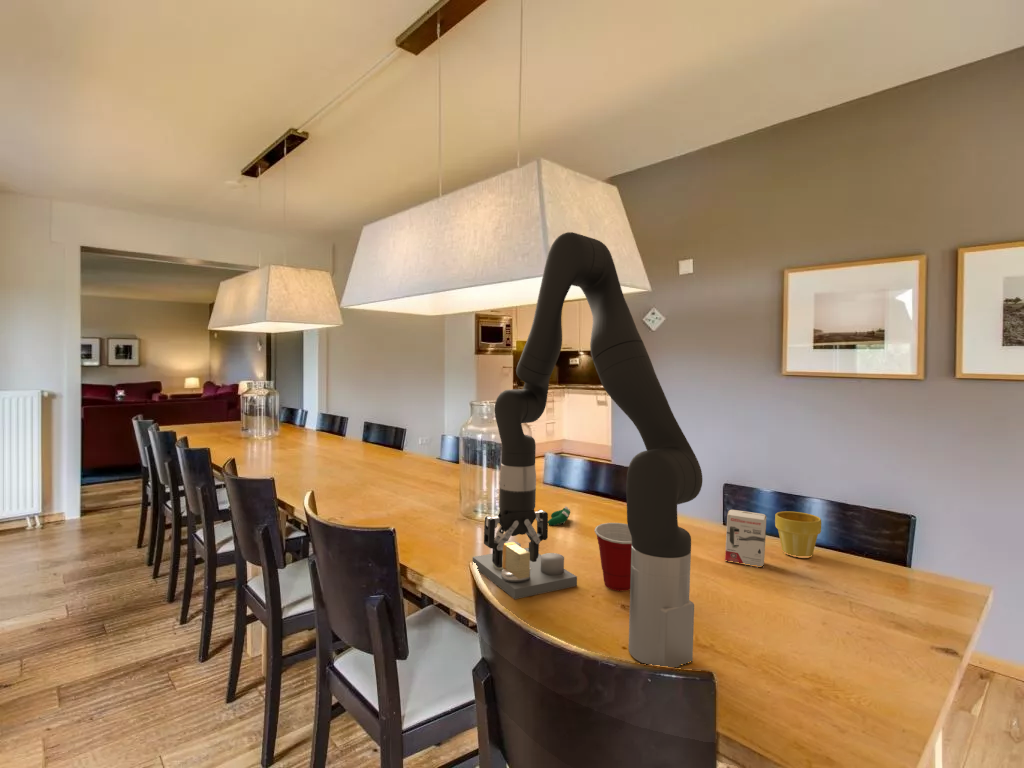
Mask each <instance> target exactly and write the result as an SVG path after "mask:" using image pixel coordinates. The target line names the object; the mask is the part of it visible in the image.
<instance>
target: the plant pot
mask: <svg viewBox="0 0 1024 768" xmlns="http://www.w3.org/2000/svg"><path fill="white" fill-rule="evenodd" d="M774 517H775V518H774V525H775V528H776V529H777V532H778V536H779V541H780V545H781V546H780V547H781V551H782V550H783V551H784V552H786V553H788V554H791V555H796V556H811V555H812V556H813V555H814V551H815V547H816V544H817V540H818V535H820V534H821V532H822V519H821V517H819V516H817V515H814V514H810V513H806V512H800V511H792V510H791V511H787V510H785V511H778V512H776V513H775V515H774Z"/></svg>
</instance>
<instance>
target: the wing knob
mask: <svg viewBox="0 0 1024 768" xmlns="http://www.w3.org/2000/svg"><path fill="white" fill-rule="evenodd" d="M514 542H515V541H514ZM514 542H511V543H505V544H504V546H503V568H504V569H503V570H502V571H501V577H502V579H503V580H505V581H508V582H515V583H518V582H525V581H527V580H529V579H530V571H529V570H530V552H528V551H526V550H525V549H524V547H522V546H521V547H520V546H518V545H517V544H516V543H514Z"/></svg>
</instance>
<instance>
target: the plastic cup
mask: <svg viewBox="0 0 1024 768" xmlns="http://www.w3.org/2000/svg"><path fill="white" fill-rule="evenodd" d="M594 533H595V535H596V539H597V544H598V551H599V558H600V564H601V570H602V577H603V582H604V586H605V587H606V588H608V589H610V590H613V591H616V592H617V591H618V592H626V591H630V581H631V550H632V537H631V534H630V531H629V528H628V523H622V522H605V523H600V524H598V525H597V526H595V528H594Z"/></svg>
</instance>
